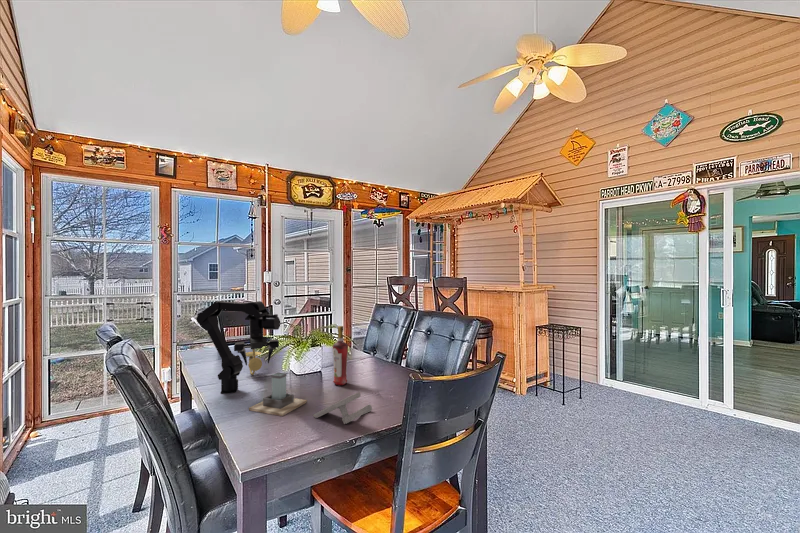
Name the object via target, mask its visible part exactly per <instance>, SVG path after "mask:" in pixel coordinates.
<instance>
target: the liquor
mask: <svg viewBox="0 0 800 533" xmlns="http://www.w3.org/2000/svg"><path fill="white" fill-rule="evenodd" d="M343 332H344V325H338V326H337V342H334V344H333V345H332V357H333V381H332V382H333V384H334V385H335V386H345V385H346V384H347V383H348V380H347V376H348V375H347V372H348V353H349V352H348V351H349V344H348V343H347V342H344V334H343Z"/></svg>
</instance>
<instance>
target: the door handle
mask: <svg viewBox="0 0 800 533" xmlns="http://www.w3.org/2000/svg"><path fill="white" fill-rule="evenodd" d="M360 397H361V392H360V391H359V392H356V393H354V394H351V395H348V396H347V397H345V398H343V399H341V400H339V401H337V402H336V403H333V404H331V405H329V406H327V407H326V408H324V409H322V410H320V411H317V412H316V413H314V414H313V415H312V416H313V417H314V418H315V419H317V418H320V417H322V416H324V415H326V414H328V413H329V414H330V413H331V412H333V411H335V410H336V409H338V410H339V411H340V414H341V416H342V418H341V420H342V423H343V424H344V425H346V424H349V423H351V422H352V421H353V420H355V419H357V418H359V417H360V416H364V415H365V414H368V413H369V412H371V411H373V407H372V404H367V405H365V406H363V407H362V408H360V409H357V411H355V412H352V413H350V414H349V412H348V410H347V407H346V406H347V404H349V403H350V402H352V401H355V400H356V399H359V398H360Z"/></svg>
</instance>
